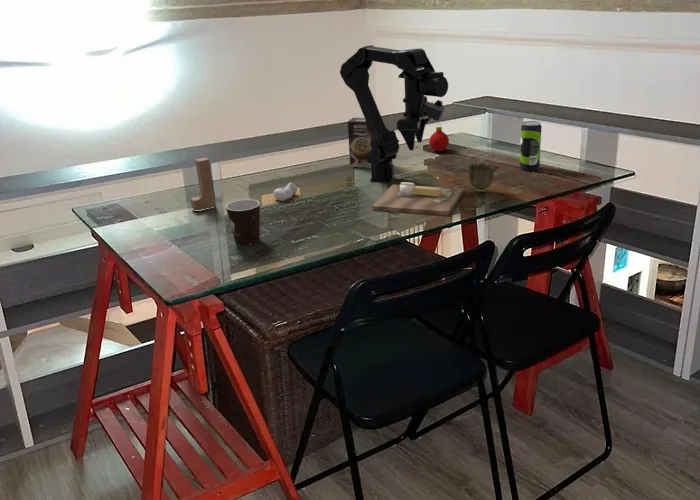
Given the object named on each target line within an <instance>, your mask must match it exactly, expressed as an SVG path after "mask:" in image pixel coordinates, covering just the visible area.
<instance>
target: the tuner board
mask: <svg viewBox="0 0 700 500" xmlns="http://www.w3.org/2000/svg"><path fill="white" fill-rule="evenodd" d="M422 186H423V187H431V186H428V185H425V186H424V185H422ZM434 187H435V188H441V193H446V196H428V195H416V194H414V195H410V196H403V195H401V194H400V184H391V186H390V187H388V189H387V190H386V191H385V192H383V194H381V196H380V197H379V198H378V199H377V200H376V201H375V202H374V203H373V204H372V206H371V210H372V211H378V212H379V211H382V212H395V213H408V214H409V213H410V214H421V215H422V214H424V215H436V216H437V215H439V216H449V215H450V213H451V212H452V211H453V209H454V208H455V206H456V204H457V203H458V202H459V200H460V198H461V197H462V195H463V194H462V193H464V188H461V187H446V186H445V187H444V186H434ZM461 194H462V195H461ZM460 196H461V197H460ZM458 199H459V200H458ZM456 202H457V203H456Z"/></svg>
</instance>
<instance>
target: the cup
mask: <svg viewBox="0 0 700 500" xmlns="http://www.w3.org/2000/svg"><path fill="white" fill-rule="evenodd" d="M494 169H495V167H494V165H493V164H489V163H486V164H485V163H484V162H483V163H482V162H479V164H478V162H477V163H475V164H473V163H471V164H470V165H468V177H469V183H470V185H471V186H472V187H473V188H474V192H475V194H486V193H487V191H488V188H489V187H490V186H491V184H492V182H493V178H494V171H495V170H494Z"/></svg>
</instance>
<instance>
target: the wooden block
mask: <svg viewBox="0 0 700 500" xmlns="http://www.w3.org/2000/svg"><path fill="white" fill-rule="evenodd" d="M194 162H195V167H196V173H197V181H198V186H199V193H198V194H197V195H196V196H195V197H194V196H193V197H190V199H189V200H190V205H191V209H192V208H193V209H194V210H201V209H206V208H211V207H216V208H217V203H216V197H215V189H214V183H213V177H212V170H211V164H210V163H211V161H210V159H209V158H208V157H200V158H196V159H195V161H194Z"/></svg>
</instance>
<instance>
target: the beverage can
mask: <svg viewBox="0 0 700 500" xmlns="http://www.w3.org/2000/svg"><path fill="white" fill-rule="evenodd" d="M521 124H522V125H521V128H520V148H519V153H520V154H519V168H520V169H521V170H522V171H524V172H525V171H526V172H533V171H537V170H538V169H539V168H540V162H541V144H542V142H541V141H542V125H541V124H542V122H541V121H537V120H528V121H522V123H521Z"/></svg>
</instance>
